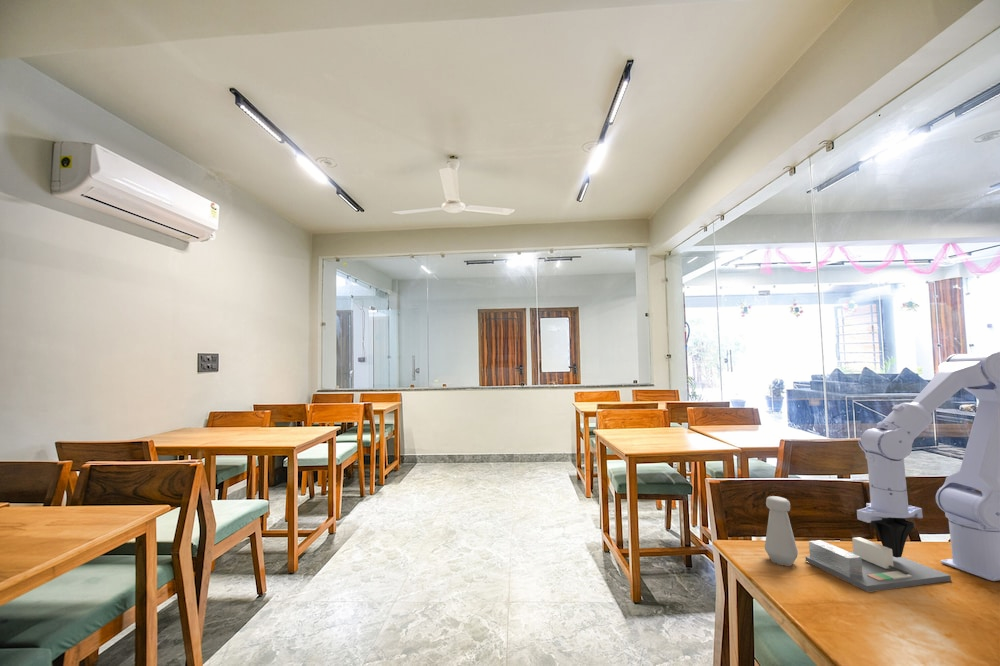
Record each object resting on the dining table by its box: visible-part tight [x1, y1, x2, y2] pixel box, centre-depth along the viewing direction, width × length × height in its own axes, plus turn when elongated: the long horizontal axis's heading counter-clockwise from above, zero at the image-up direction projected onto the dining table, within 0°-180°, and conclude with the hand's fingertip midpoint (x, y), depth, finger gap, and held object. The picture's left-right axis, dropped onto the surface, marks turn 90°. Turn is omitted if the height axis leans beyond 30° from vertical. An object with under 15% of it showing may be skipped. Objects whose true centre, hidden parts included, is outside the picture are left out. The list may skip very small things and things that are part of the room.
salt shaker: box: [764, 495, 798, 567], centre depth 86 cm, size 6×6×13 cm
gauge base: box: [805, 551, 952, 593], centre depth 81 cm, size 20×12×1 cm, turn 102°
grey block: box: [808, 539, 863, 578], centre depth 81 cm, size 3×8×4 cm, turn 12°
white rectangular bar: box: [851, 536, 909, 575], centre depth 81 cm, size 2×9×4 cm, turn 12°
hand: (893, 555), depth 84 cm, fingers closed
